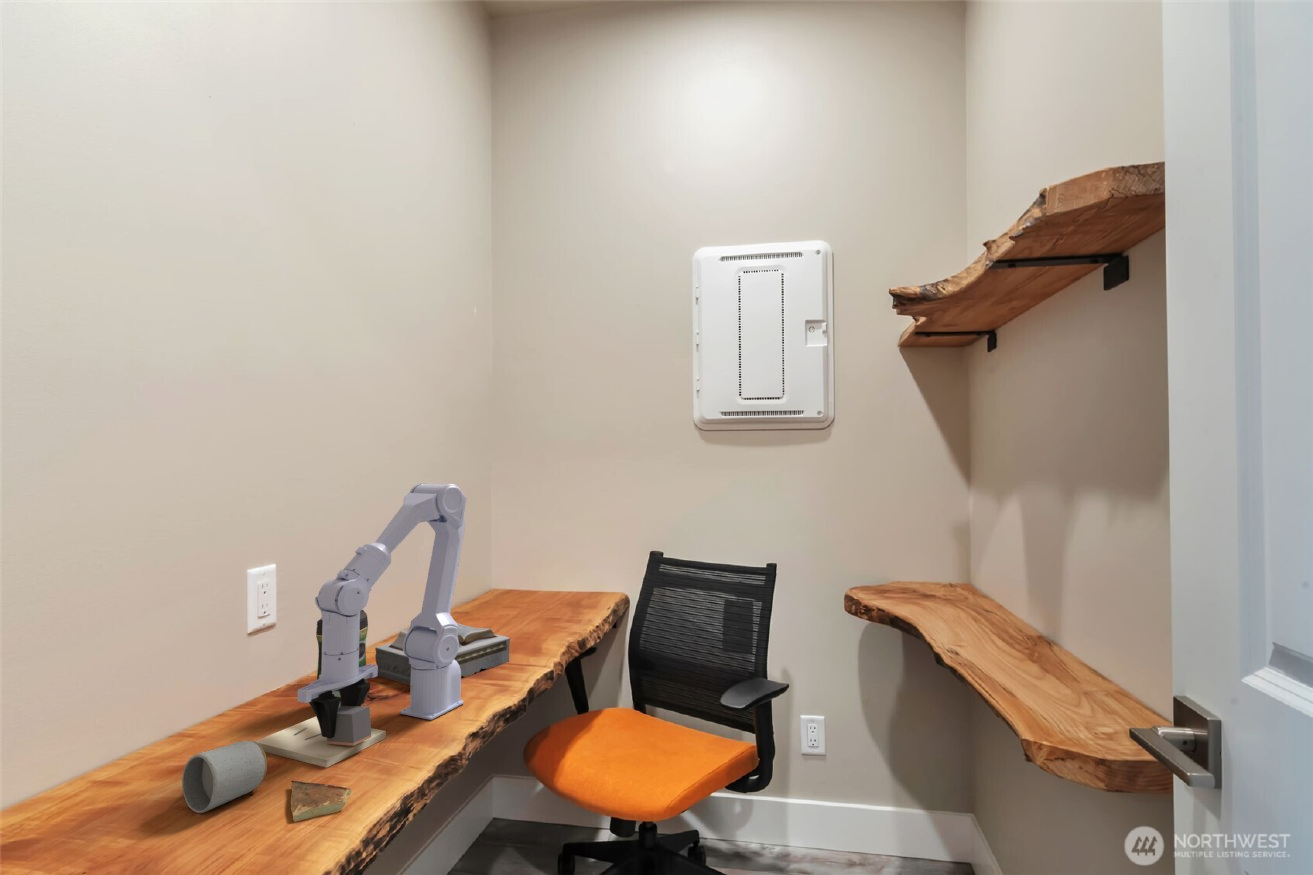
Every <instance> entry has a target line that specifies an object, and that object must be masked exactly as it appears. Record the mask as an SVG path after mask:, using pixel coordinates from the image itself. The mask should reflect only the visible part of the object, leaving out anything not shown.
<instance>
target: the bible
mask: <svg viewBox="0 0 1313 875" xmlns="http://www.w3.org/2000/svg"><path fill="white" fill-rule="evenodd" d="M455 622H456V621H455ZM456 623H457V625H458V641H459V649H458V653H457V655H456V657H455V658H454V660H456V661H457V662H458V664H459V666H460V669H461V677H464V678H466V677H470V676H472V674H473V675H474V674H475V673H477V674H478V673H479V672H480V671H481V670H482V669H483V670H484V669H485V670H488V669H489V668H490V669H492V668H491V667H493V668H495V667H498V666H500V664H501V665H504V664H507V663H509V662H510V644H511V637H508V636H505V635H500V634H495V633H494V631H493V630H492V629H491V628H482V627H474V626H473V627H472V626H469V625H465V624H461V623H459V622H456ZM430 629H433V628H430ZM433 630H435V629H433ZM408 631H409V628H407V629H403V630H401V631H400V632H399V634H398V636H397V637H396V639H395V640H394V641H392V642H388V643H385V644H382V645H378V646H376V647H375V657H374V658H375V663H376V664H375V665H378V675H377V677H382V678H386V679H388V680H392V681H395V682H398V683H403V684H406V685H409V686H411V664H409V658H408V657H406V655H405V654H404V652H403V641H404V638H405V636H406V634H407V633H408ZM506 662H507V663H506ZM469 675H470V676H469Z"/></svg>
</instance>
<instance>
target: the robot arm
mask: <svg viewBox="0 0 1313 875" xmlns="http://www.w3.org/2000/svg"><path fill="white" fill-rule="evenodd" d="M467 500H468V499H467V497H466V495H465V494H464V492H463V491H462V489H461V488H460V487H459V486H458V485H457V484H453V483H448V484H438V483H437V484H434V483H433V484H431V483H428V484H427V483H417V484H415V485H413V487H412V488H410V491H409V492H408V493H407V494H405V495H404V497H403V502H402V506H401V507H400V508H399V509H398V511H397V512H396V514H394V516H393V517H392V518H391V520H390V522H389V523H388V525H386V527H385V528H384V530H383V531H382V532H381V533H380V535H379V536H378V538H376V540H375V542H373V543H366V544H363V545H362V546H359V547H357V549H356V550H355V551H354V553H355V555H354V556H353V558H352V559H350V560H349V562H348V563H347V564H346V566H344V568H343V569H340V570H339V571H338V573H337V574H336V575H337V576H336V578H331V580H330V579H329V580H327V581H326V582H325V583H324V584H322V586H321V587H320V589H319V591H318V594H317V596H315V597H314V603H315V605H316V607H317V608H318V610H319V611H320V612H321V617H320V619H321V620H323V627H322V668H321V675H319V679H318V680H317V679H316V680H314V681H312V682H310V683H309V684H307V685H305V686H303V687H301V688H299V689H297V702H298V703H303V704H309V705H310V707H311V708H312V711H313V712H314V714H315V717H316V716H317V719H318V722H319V726H320V729H321V734H322V737H326V738H333V737H334V735H335V729H336V716H337V711H338V707H339V704H340V701H341V703H342V706H362V705H363V703H364V701H365V700H364V698H365V696H366V694H367V695H368V693H369V691H370V690H371V683H370V682H368V681H367V682H364V679H367V680H368V679H369V678H371V679H372V678H376V677H378V665H377V664H370V663H369V664H366V665H365V666H362V667H359V632H360V611H361V610H364V609H365V607H366V606H367V605H368V602H369V597H370V593H371V591H372V588H373V586H374V585H375V584H376V583H377V581H378V580H379V579H380V577H381V576H382V575H383V574H384V573H385V572H386V570H387V569H388V568H389V566H390V565H391V564H392V555H391V554H392V553H393V552H394V550H395V549H396V548H397V547H398V546H399V545H400V544H401V543H402V542H403V541H404V540H405V539H406V537H407V536H409V535H410V534H411V532H412V531H413V530H414V529H415V528H416V527H417V526H418V525H419V524H420V523H424V522H427V524H429V526H430V527H431V529H432V530H433V532H435V534H434V540H433V546H432V552H431V557H430V562H429V568H428V573H427V577H426V578H427V579H426V584H425V588H424V589H425V590H424V595H423V601H422V607H421V611H420V613H418V614H417V615H416V616H415V617H414V618H412V620H411V621H410V626H409V628H408V629H409V631H408V633H407V634H406V636H405V638H404V641H403V652H404V654H405V655H406V657H408V658H409V664H411V685H410V687H409V688H410V693H409V695H410V698H409V703H410V704H409V706H408V707H405V708H402V709H400V711H399V714H400V715H406V716H408V717H415V718H420V719H425V720H429V721H431V720H434V719H436V718H438V717H439V716H440V717H441V716H442V715H444V714H446V713H449V711H451V710H453V709H456V708H457V707H460V706H462V705H464V704H465V701H464V700H462V699H461V697H462V696H461V695H462V694H461V693H462V692H461V690H462V676H461V669H460V666H459V664H458V662H457V661H456V660H454V658H455V657H456V655H457V653H458V649H459V641H458V625H457V623H458V622H457V623H456V621H455V619H454V618H453V616H452V614H451V612H452V606H453V600H454V593H455V587H456V583H457V576H458V571H459V564H460V559H461V554H462V547H463V543H464V542H463V540H464V537H465V535H464V534H465V530H466V521H465V512H466V504H467ZM430 628H433V629H435V630H433V629H430ZM338 689H339V692H340V697H336V696H334V694H332V692H333V691H335V690H338ZM363 700H364V701H363Z"/></svg>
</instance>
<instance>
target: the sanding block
mask: <svg viewBox="0 0 1313 875" xmlns="http://www.w3.org/2000/svg"><path fill="white" fill-rule="evenodd" d="M370 708H371V707H370V706H362V705H361V706H342V707H339V708H338V711H337V716H336V729H335V735H334V737H333V738H327V744H337V745H351V746H354V745H356V744H358V743H360V742H362V741H365V740H367V739H369V738H371V728H372V725H371V711H370V710H371V709H370Z"/></svg>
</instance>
